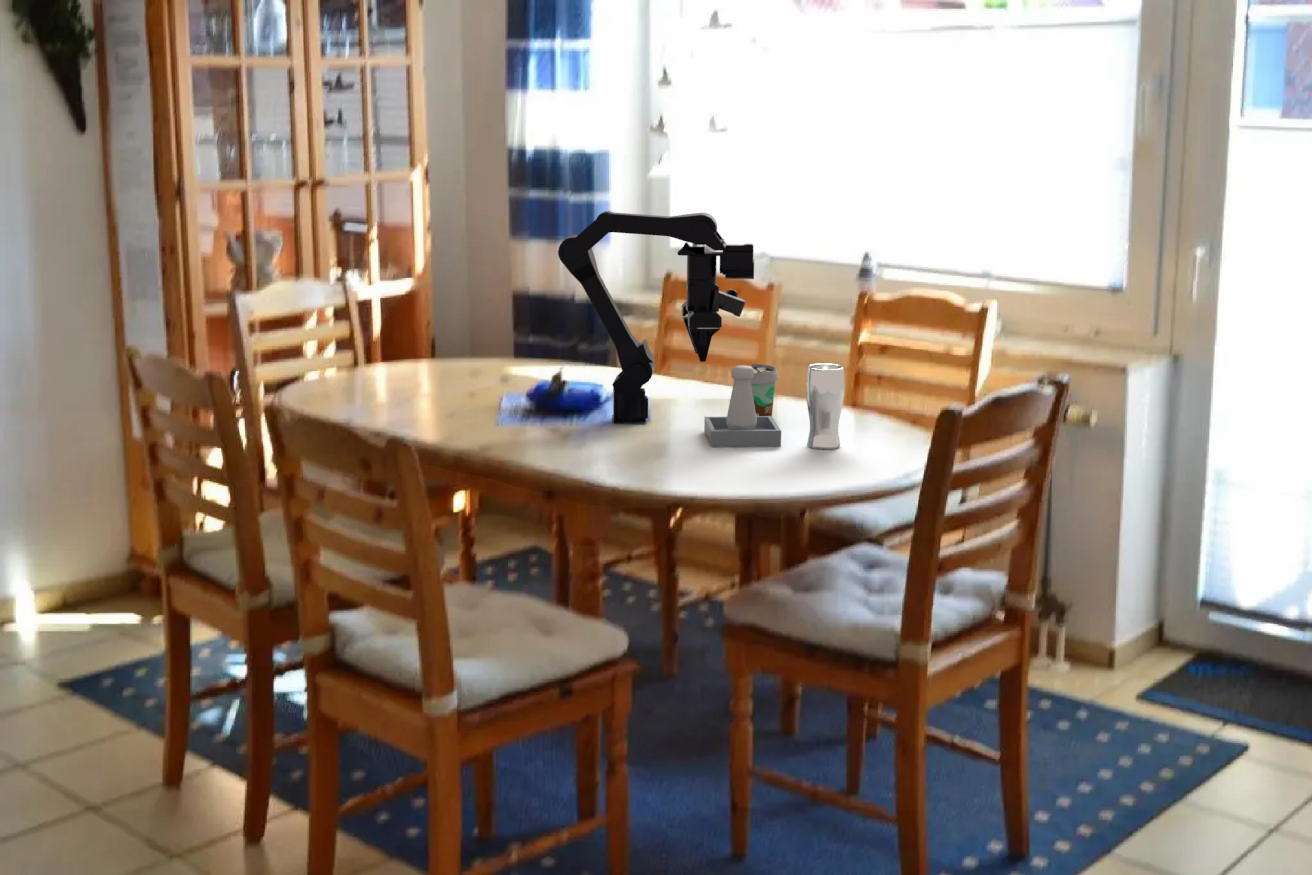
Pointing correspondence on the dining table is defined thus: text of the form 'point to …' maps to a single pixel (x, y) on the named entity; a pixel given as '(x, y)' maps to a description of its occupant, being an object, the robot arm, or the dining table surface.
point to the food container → (763, 388)
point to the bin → (742, 433)
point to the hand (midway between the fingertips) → (700, 357)
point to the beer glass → (824, 404)
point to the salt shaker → (741, 400)
